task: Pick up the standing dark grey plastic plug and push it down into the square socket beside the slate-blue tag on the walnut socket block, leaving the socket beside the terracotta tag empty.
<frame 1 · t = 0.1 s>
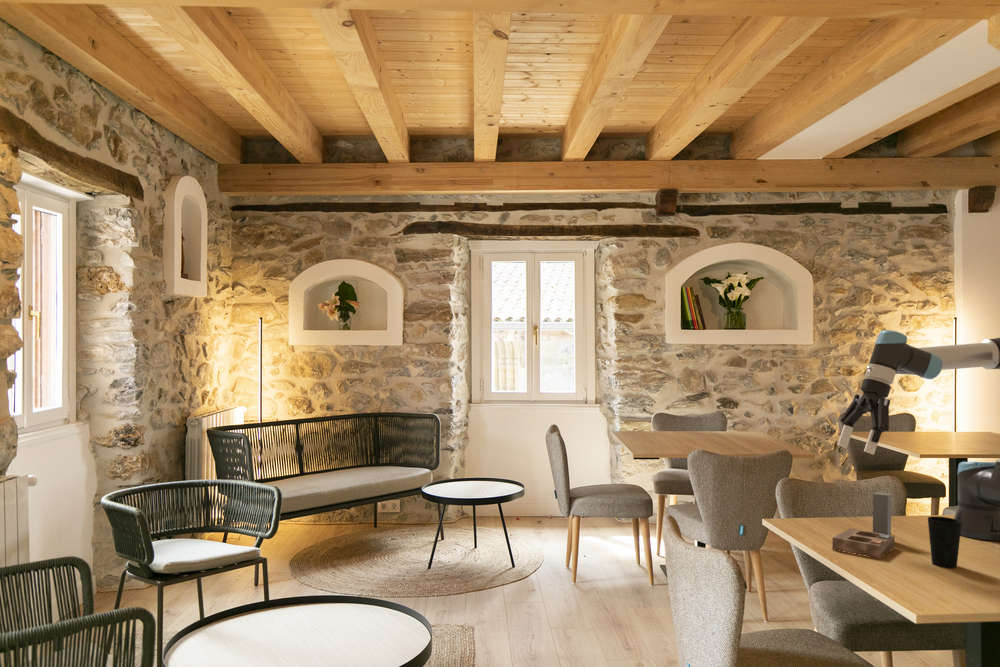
hand: (854, 449, 206), 28 cm above the table, tool tilted 20°, fingers open, 13 cm apart
socket block: (863, 549, 201), on the table
plug: (881, 540, 211), on the table
cup: (944, 565, 187), on the table
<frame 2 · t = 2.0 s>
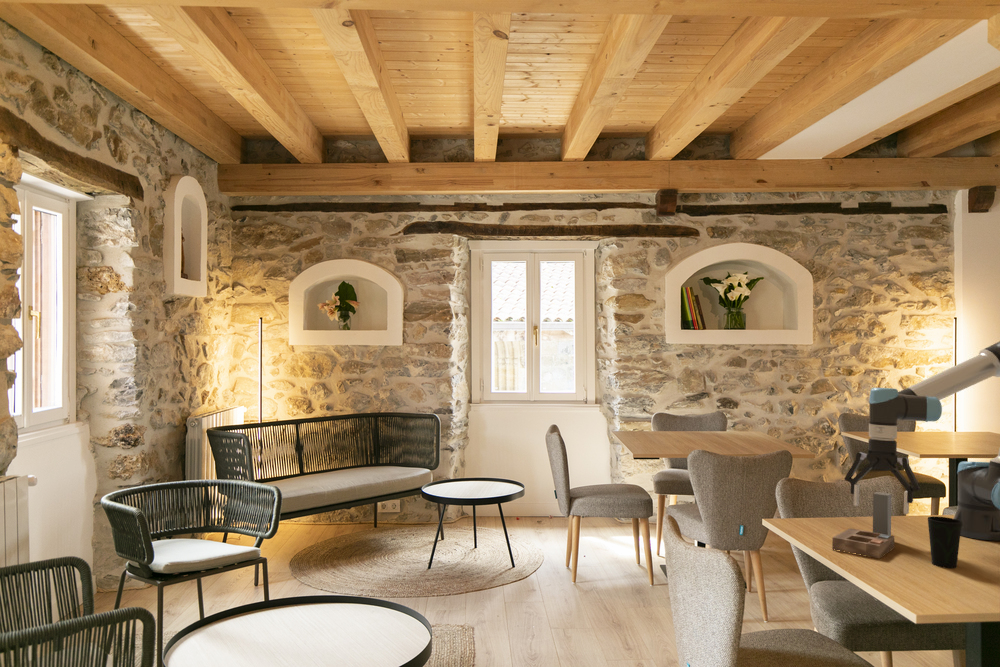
hand: (880, 509, 212), 9 cm above the table, tool pointing down, fingers open, 13 cm apart
nothing on the table moved.
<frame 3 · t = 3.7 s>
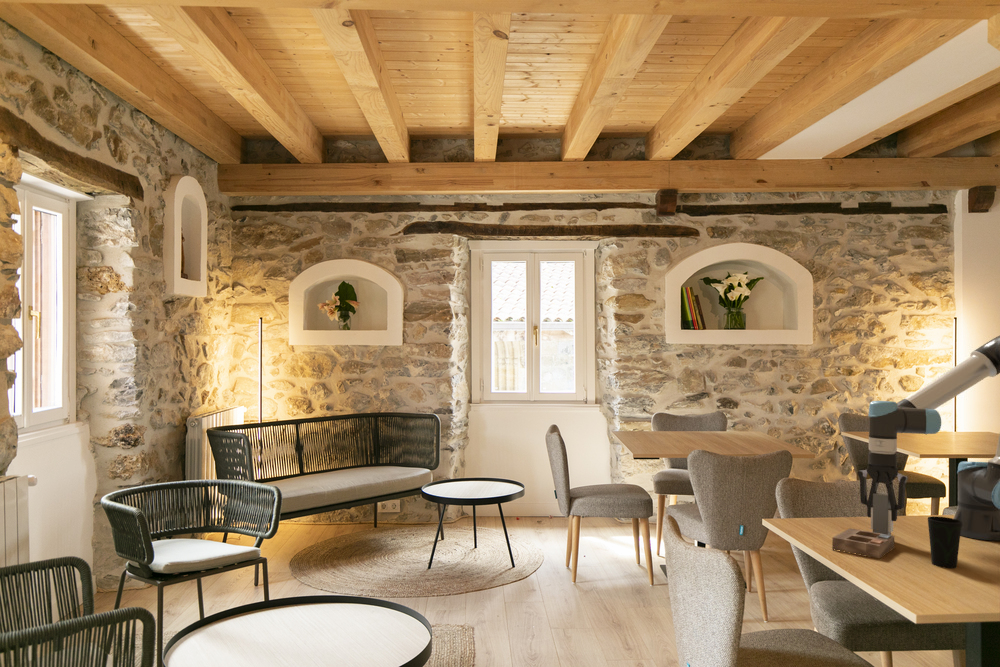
hand: (881, 529, 211), 3 cm above the table, tool pointing down, fingers closed on plug, 4 cm apart
plug: (881, 540, 211), on the table, touching gripper
everything else where it was.
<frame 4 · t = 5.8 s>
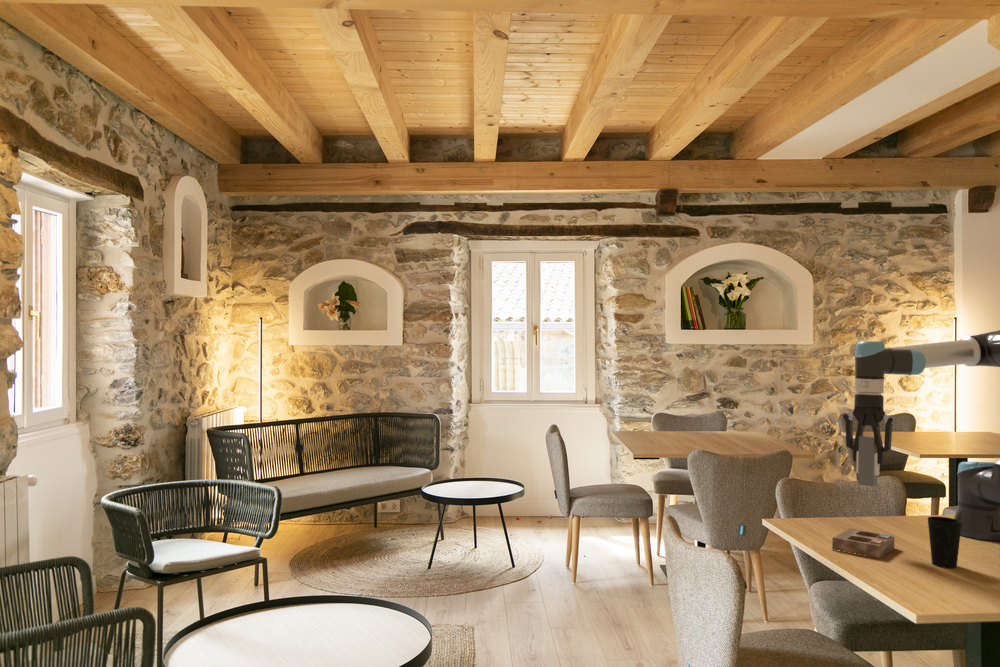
hand: (867, 473, 205), 21 cm above the table, tool pointing down, fingers closed on plug, 4 cm apart
plug: (867, 484, 205), point 18 cm above the table, touching gripper
everything else where it was.
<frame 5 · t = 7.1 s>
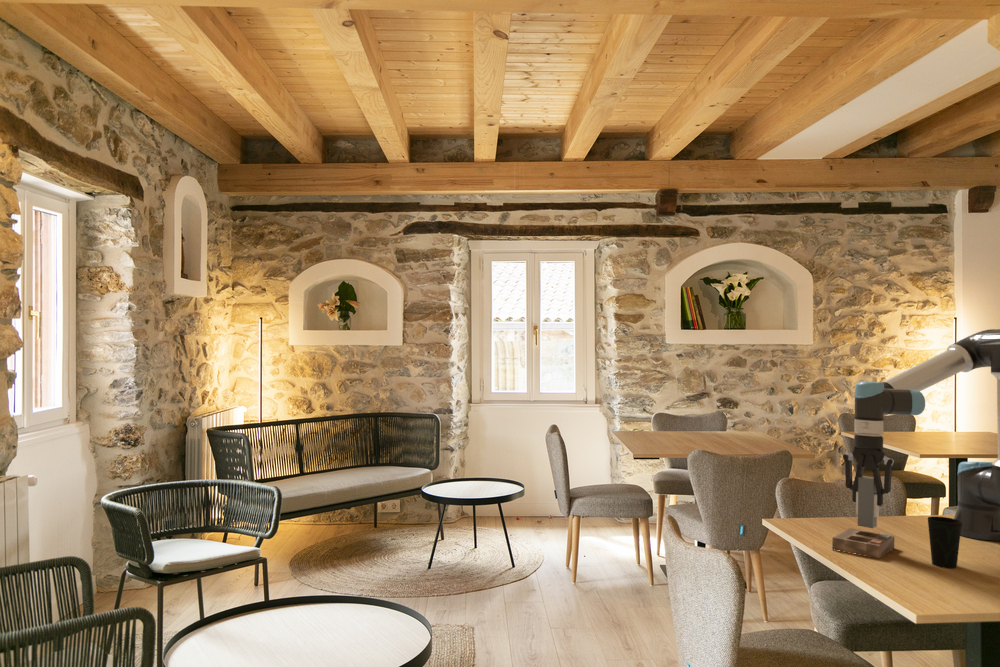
hand: (867, 515, 204), 9 cm above the table, tool pointing down, fingers closed on plug, 4 cm apart
plug: (867, 525, 204), point 6 cm above the table, touching gripper
everything else where it was.
when the fingers open (5 cm above the table, at t = 8.1 s): plug drops 2 cm, resting in socket block.
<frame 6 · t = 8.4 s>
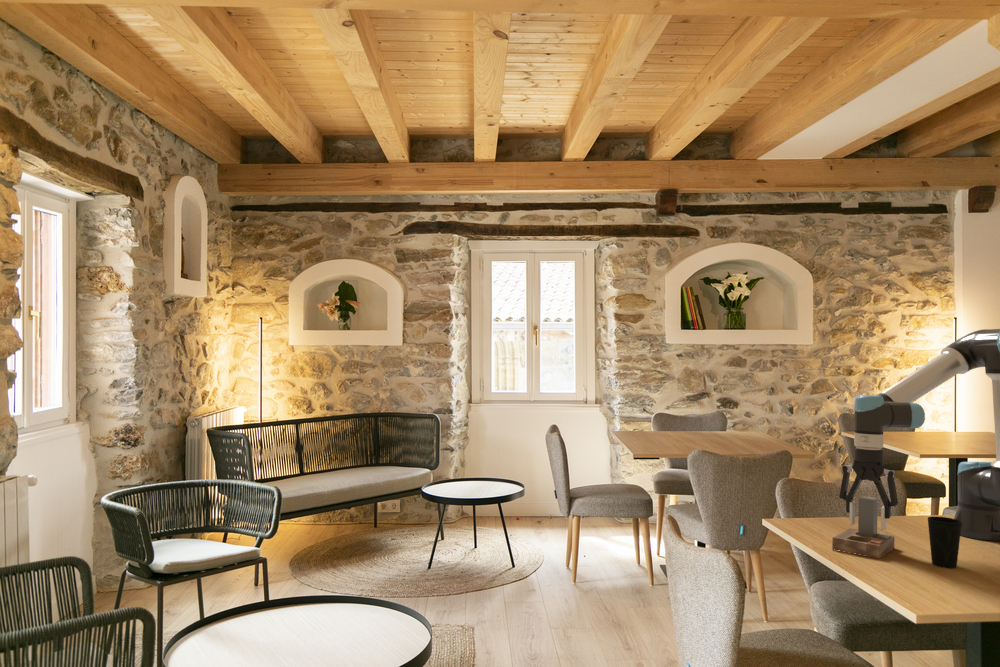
hand: (867, 526, 204), 6 cm above the table, tool pointing down, fingers open, 8 cm apart
plug: (867, 546, 204), resting in socket block
everything else where it was.
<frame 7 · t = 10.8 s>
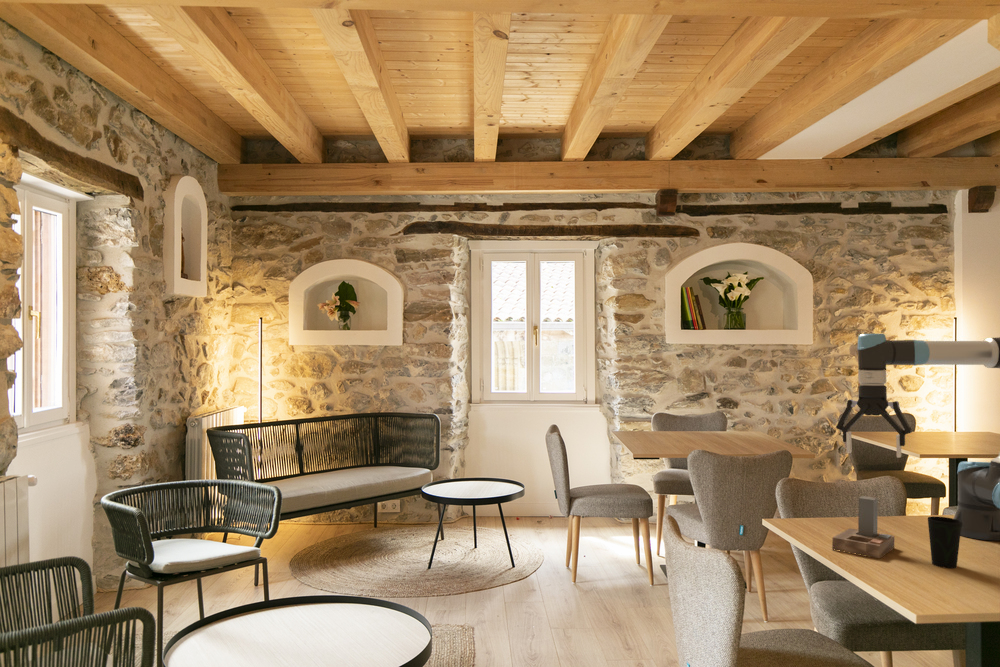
hand: (873, 455, 212), 26 cm above the table, tool pointing down, fingers open, 13 cm apart
nothing on the table moved.
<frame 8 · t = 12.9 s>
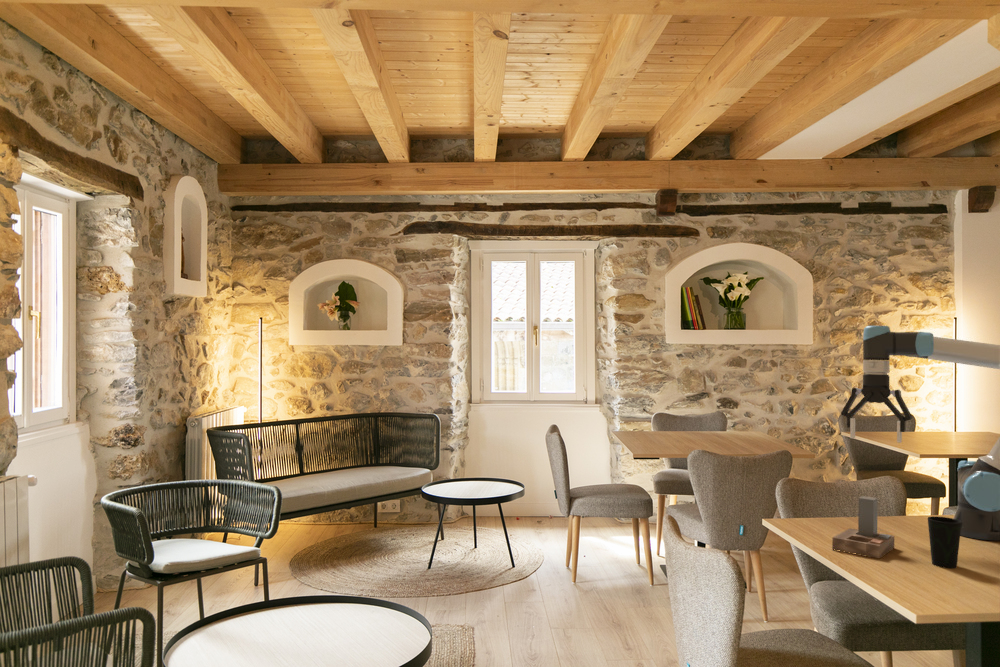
hand: (875, 440, 224), 29 cm above the table, tool pointing down, fingers open, 13 cm apart
nothing on the table moved.
at the end: plug 0.0 cm from the target spot on the socket block, point 0.0 cm above the socket block's base; plug tilted 0°; the gripper is holding nothing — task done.
